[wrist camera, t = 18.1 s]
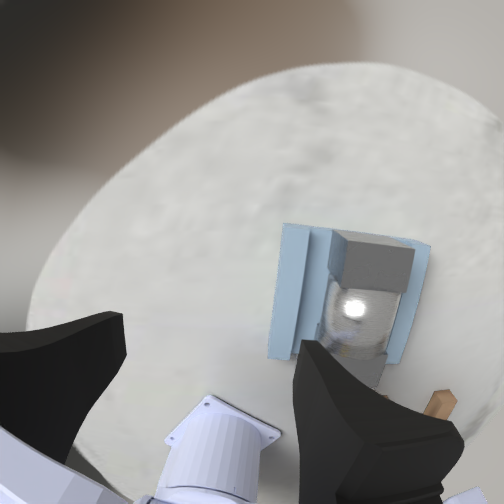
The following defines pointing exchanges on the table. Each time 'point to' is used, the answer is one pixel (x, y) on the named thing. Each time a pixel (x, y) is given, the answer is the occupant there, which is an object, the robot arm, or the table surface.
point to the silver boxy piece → (363, 300)
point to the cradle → (314, 287)
